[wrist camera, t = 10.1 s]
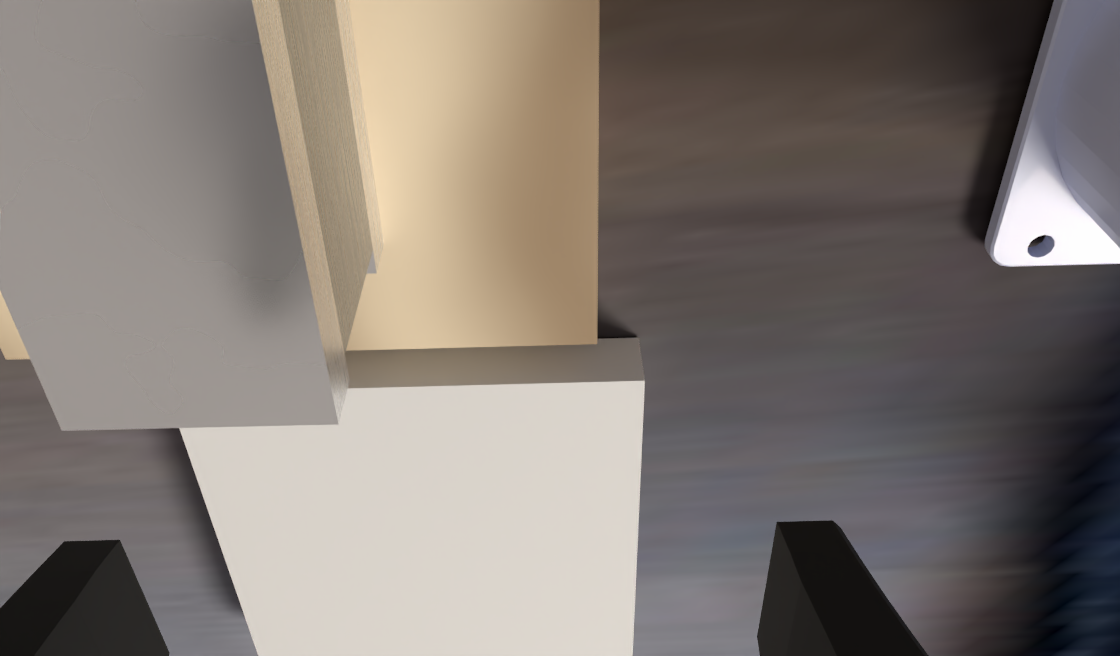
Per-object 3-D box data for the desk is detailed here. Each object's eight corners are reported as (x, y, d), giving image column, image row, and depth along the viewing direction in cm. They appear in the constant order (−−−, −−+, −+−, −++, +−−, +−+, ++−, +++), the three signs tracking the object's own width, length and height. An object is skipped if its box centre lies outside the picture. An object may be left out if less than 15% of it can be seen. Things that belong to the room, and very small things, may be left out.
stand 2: (638, 337, 21) (644, 380, 20) (628, 617, 27) (631, 664, 26) (188, 349, 21) (166, 393, 20) (276, 627, 27) (264, 673, 26)
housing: (383, 244, 18) (338, 424, 14) (169, 248, 18) (61, 430, 14) (323, -175, 14) (233, -92, 10) (43, -169, 14) (-165, -84, 10)
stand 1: (596, -398, 13) (602, -401, 12) (593, 301, 20) (597, 344, 19) (-260, -379, 13) (-340, -379, 12) (37, 316, 20) (5, 359, 19)
